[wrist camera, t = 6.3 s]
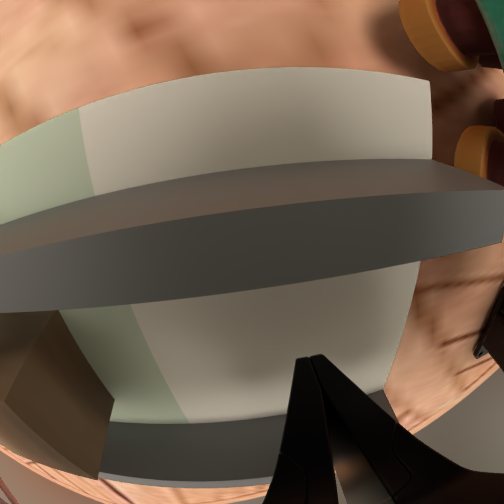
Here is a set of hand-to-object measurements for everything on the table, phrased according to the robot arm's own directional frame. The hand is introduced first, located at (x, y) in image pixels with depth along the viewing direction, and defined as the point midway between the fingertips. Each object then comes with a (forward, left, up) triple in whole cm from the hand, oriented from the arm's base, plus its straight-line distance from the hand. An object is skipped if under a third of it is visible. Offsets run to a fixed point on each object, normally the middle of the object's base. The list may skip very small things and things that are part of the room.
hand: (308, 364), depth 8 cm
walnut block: (+10, 0, -1) cm, 10 cm away
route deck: (+8, 0, -3) cm, 9 cm away
